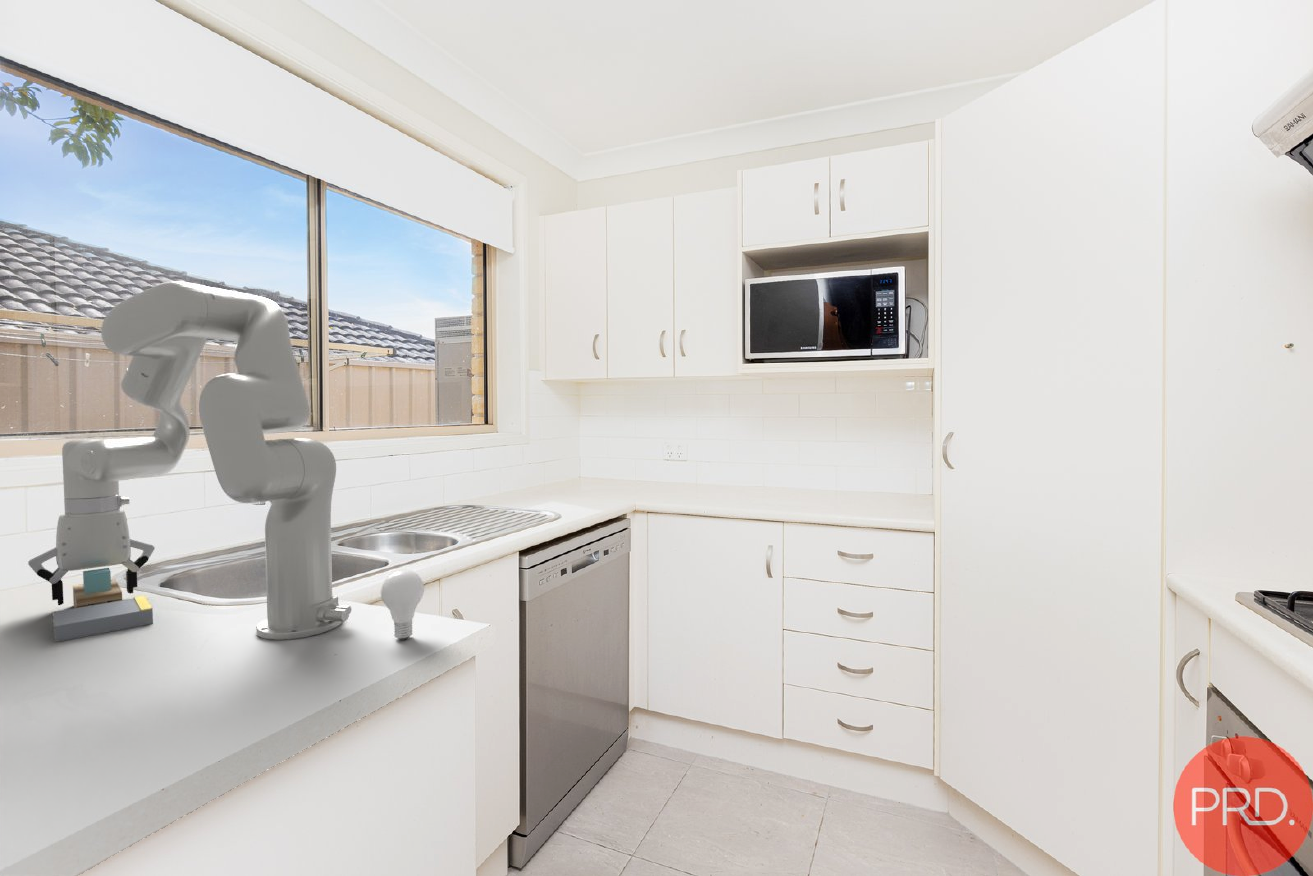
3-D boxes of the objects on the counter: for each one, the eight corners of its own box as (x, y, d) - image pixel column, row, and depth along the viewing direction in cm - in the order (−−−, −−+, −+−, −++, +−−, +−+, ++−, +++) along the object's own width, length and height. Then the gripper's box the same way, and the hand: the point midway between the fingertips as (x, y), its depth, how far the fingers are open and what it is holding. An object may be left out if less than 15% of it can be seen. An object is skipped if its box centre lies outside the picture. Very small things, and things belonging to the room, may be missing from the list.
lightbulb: (433, 635, 100) (432, 568, 100) (402, 649, 94) (401, 577, 94) (404, 629, 103) (403, 563, 102) (372, 642, 97) (371, 573, 96)
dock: (153, 623, 106) (152, 607, 106) (55, 642, 97) (54, 625, 97) (145, 610, 113) (144, 595, 113) (53, 626, 104) (52, 610, 104)
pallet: (122, 614, 111) (121, 592, 111) (77, 622, 107) (76, 599, 107) (116, 599, 120) (115, 579, 119) (73, 606, 115) (72, 585, 115)
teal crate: (111, 590, 112) (110, 571, 112) (84, 594, 110) (84, 574, 109) (109, 586, 115) (108, 567, 114) (83, 590, 112) (82, 571, 112)
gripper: (149, 499, 123) (153, 584, 124) (26, 509, 111) (30, 603, 112) (155, 503, 118) (158, 592, 119) (25, 514, 106) (30, 613, 106)
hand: (96, 597), depth 115 cm, fingers open, 9 cm apart
